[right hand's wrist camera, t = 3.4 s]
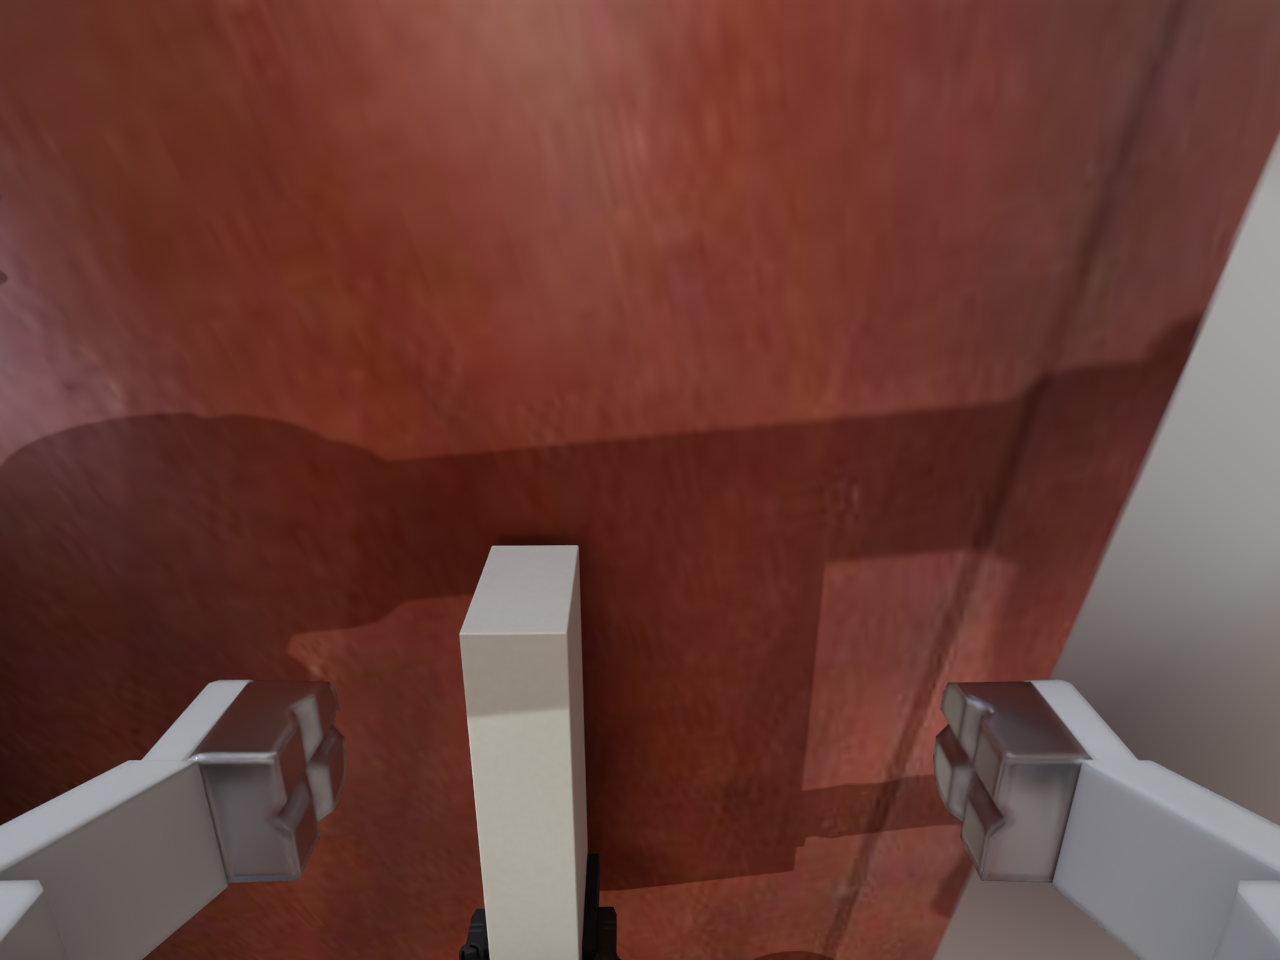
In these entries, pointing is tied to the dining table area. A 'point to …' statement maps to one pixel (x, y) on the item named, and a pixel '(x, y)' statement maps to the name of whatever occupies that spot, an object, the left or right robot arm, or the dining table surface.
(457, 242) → the dining table surface
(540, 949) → the bar
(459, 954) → the left robot arm
